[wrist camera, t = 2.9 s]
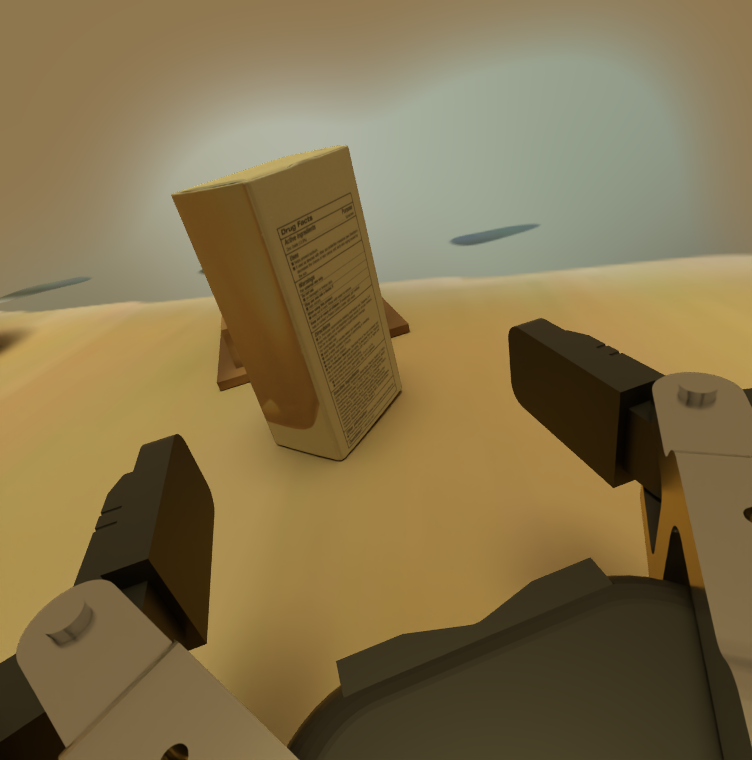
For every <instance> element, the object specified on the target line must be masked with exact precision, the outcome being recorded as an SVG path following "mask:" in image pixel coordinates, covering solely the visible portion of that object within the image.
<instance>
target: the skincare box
mask: <svg viewBox="0 0 752 760" xmlns="http://www.w3.org/2000/svg"><path fill="white" fill-rule="evenodd" d="M171 196H172V198H173V200H174V203H175V205H176V207H177V210H178V212H179V214H180V217H181V219H182V221H183V224H184V226H185V228H186V231H187V233H188V236H189V238H190V241H191V243H192V245H193V248H194V250H195V252H196V255H197V257H198V259H199V262H200V264H201V266H202V269H203V271H204V274H205V276H206V278H207V281H208V283H209V286H210V288H211V290H212V293H213V295H214V297H215V299H216V302H217V304H218V307H219V309H220V311H221V314H222V316H223V318H224V321H225V323H226V326H227V328H228V331H229V333H230V335H231V338H232V340H233V342H234V345H235V347H236V350H237V352H238V354H239V357H240V359H241V361H242V364H243V366H244V368H245V371H246V373H247V375H248V378H249V380H250V382H251V385H252V387H253V389H254V392H255V394H256V396H257V399H258V401H259V404H260V406H261V409H262V411H263V413H264V416H265V418H266V421H267V423H268V425H269V428H270V430H271V432H272V435H273V437H274V440H275V442H276V443H277V444H279V445H283V446H286V447H289V448H293V449H296V450H300V451H303V452H307V453H311V454H315V455H319V456H323V457H327V458H331V459H335V460H342V459H344V458H345V457H346V456H347V455H348V454H349V452H350V451H351V450H352V449H353V448H354V447H355V446H356V444H357V443H358V442H359V441H360V440H361V439H362V437H363V436H364V435H365V434H366V433H367V431H368V430H369V429H370V428H371V426H372V425H373V424H374V423H375V422H376V420H377V419H378V418H379V417H380V415H381V414H382V413H383V412H384V410H385V409H386V408H387V407H388V405H389V404H390V403H391V402H392V400H393V399H394V398H395V396H396V395H397V394H398V392H399V391H400V390H401V388H402V386H401V381H400V377H399V372H398V368H397V363H396V359H395V354H394V350H393V346H392V341H391V337H390V332H389V328H388V323H387V319H386V314H385V310H384V305H383V301H382V296H381V292H380V288H379V283H378V278H377V274H376V270H375V265H374V261H373V256H372V252H371V247H370V243H369V238H368V233H367V229H366V224H365V220H364V216H363V211H362V207H361V203H360V198H359V193H358V189H357V184H356V180H355V176H354V171H353V166H352V162H351V157H350V153H349V148H348V146H347V145H345V146H334V147H329V148H324V149H319V150H314V151H310V152H305V153H300V154H295V155H290V156H287V157H283V158H280V159H277V160H273V161H270V162H267V163H264V164H262V165H258V166H255V167H252V168H250V169H247V170H243V171H241V172H237V173H234V174H231V175H228V176H225V177H222V178H219V179H216V180H214V181H210V182H207V183H204V184H201V185H198V186H195V187H192V188H188V189H185V190H182V191H179V192H177V193H173V194H172V195H171Z"/></svg>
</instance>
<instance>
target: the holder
mask: <svg viewBox="0 0 752 760" xmlns="http://www.w3.org/2000/svg"><path fill="white" fill-rule="evenodd" d="M382 301H383V305H384V310H385V314H386V319H387V323H388V328H389V332H390V337H394V336H398V335H401V334H404V333H407V332H410V331H409V325H408V323H407V322H406V321H405V320H404V319H403V318H402V317H401V316H400V315H399V314H398V313H397V312H396V311H395V310H394V309H393V308H392V307H391V306H390V305H389V304H388V303H387V302H386V301H385V300H384V299H383V298H382ZM247 382H250V380H249V378H248V375H247V373H246V371H245V368H244V366H243V364H242V361H241V359H240V357H239V354H238V352H237V350H236V347H235V345H234V342H233V340H232V338H231V335H230V333H229V331H228V328H227V326H226V323H225V321H224V318H223V316H222V321H221V339H220V352H219V364H218V377H217V384H218V386H219V388H220V391H221V390H225V389H228V388H231V387H234V386H237V385H241V384H244V383H247Z"/></svg>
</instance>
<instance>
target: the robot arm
mask: <svg viewBox="0 0 752 760" xmlns="http://www.w3.org/2000/svg"><path fill="white" fill-rule="evenodd" d="M508 340H509V355H510V370H511V383H512V388H513V392H514V394H515V396H516V398H517V400H518V402H519V403H520V404H521V406H522V407H524V408H525V409H526V410H527V411H528V412H529V413H530V414H531V415H532V416H534V417H535V418H536V419H537V420H538V421H539V422H540V423H541V424H542V425H544V426H545V427H546V428H547V429H548V430H549V431H550V432H551V433H553V434H554V435H555V436H556V437H557V438H558V439H559V440H560V441H561V442H563V443H564V444H565V445H566V446H567V447H568V448H569V449H570V450H571V451H573V452H574V453H575V454H576V455H577V456H578V457H579V458H580V459H582V460H583V461H584V462H585V463H586V464H587V465H588V466H589V467H590V468H592V469H593V470H594V471H595V472H596V473H597V474H598V475H599V476H601V477H602V478H603V479H604V480H605V481H606V482H607V483H608V484H609V485H611V486H612V487H613V488H615V487H617V486H620V485H623V484H625V483H628V482H630V481H633V480H636V481H638V482H639V483H640V484H641V491H640V502H641V510H642V519H643V527H644V535H645V544H646V552H647V561H648V571H649V577H641V576H630V575H628V576H606V575H605V574H604V573H603V572H602V570H601V569H600V568H599V567H598V566H597V565H596V563H595V562H594V561H593V560H592V559H591V558H588V559H586V560H583V561H581V562H578V563H576V564H573V565H571V566H568V567H566V568H563V569H561V570H559V571H556V572H554V573H551V574H549V575H546V576H544V577H541V578H539V579H537V580H534V581H532V582H530V583H529V584H528V585H527V586H525V587H524V588H523V589H521V590H520V591H519V592H518V593H516V594H515V595H514V596H513V597H511V598H510V599H509V600H507V601H506V602H505V603H504V604H502V605H501V606H500V607H499V608H497V609H496V610H495V611H493V612H492V613H491V614H490V615H488V616H487V617H486V618H484V619H483V620H482V621H480V622H478V623H476V624H473V625H468V626H460V627H453V628H445V629H438V630H430V631H423V632H415V633H407V634H402V635H399V636H397V637H394V638H392V639H390V640H387V641H385V642H382V643H380V644H377V645H375V646H372V647H370V648H367V649H365V650H363V651H360V652H358V653H355V654H353V655H350V656H348V657H345V658H343V659H341V660H338V661H336V663H337V668H338V673H339V678H340V683H341V685H340V686H339V687H338V688H337V689H335V690H334V691H333V692H332V693H330V694H329V695H328V696H327V697H326V698H325V699H324V700H323V701H322V702H321V703H320V704H319V705H318V706H317V707H316V708H315V709H314V710H313V711H312V712H311V714H310V715H309V716H308V717H307V718H306V720H305V721H304V722H303V723H302V724H301V726H300V727H299V729H298V730H297V732H296V733H295V735H294V736H293V738H292V739H291V740H290V742H289V744H288V745H287V747H286V746H285V745H284V744H283V743H281V742H280V741H279V740H278V739H277V738H276V737H275V736H274V735H273V734H272V733H271V732H270V731H269V730H268V729H267V728H266V727H265V726H264V725H263V724H262V723H261V722H260V721H259V720H258V719H257V718H256V717H255V716H254V715H253V714H252V713H251V712H250V711H249V710H248V709H247V708H246V707H245V706H244V705H243V704H242V703H241V702H240V701H239V700H238V699H237V698H236V697H235V696H233V695H232V694H231V693H230V692H229V691H228V690H227V689H226V688H225V687H224V686H223V685H222V684H221V683H220V682H219V681H218V680H217V679H216V678H215V677H214V676H213V675H212V674H211V673H210V672H209V671H208V670H207V669H206V668H205V667H204V666H203V665H202V664H201V663H200V662H199V661H198V660H197V659H196V658H195V657H194V656H193V655H192V654H191V653H190V652H189V650H192V649H194V648H197V647H200V646H202V645H205V644H207V630H208V613H209V596H210V579H211V562H212V545H213V528H214V503H213V498H212V495H211V491H210V489H209V486H208V484H207V482H206V480H205V479H204V477H203V475H202V473H201V471H200V469H199V467H198V465H197V463H196V461H195V459H194V458H193V456H192V454H191V452H190V450H189V448H188V446H187V444H186V442H185V441H184V439H183V438H182V437H181V436H180V435H179V434H175V435H172V436H169V437H166V438H163V439H160V440H157V441H154V442H151V443H147V444H144V445H142V447H141V449H140V452H139V455H138V458H137V461H136V464H135V467H134V470H133V472H131V473H127V474H124V475H123V476H122V477H121V479H120V480H119V481H118V482H117V483H116V485H115V486H114V487H113V488H112V489H111V491H110V492H109V493H108V495H107V497H106V500H105V503H104V505H103V508H102V511H101V515H102V516H100V517H99V519H98V522H97V524H96V527H95V530H96V532H94V533H93V535H92V538H91V540H90V543H89V546H88V548H87V551H86V554H85V556H84V559H83V562H82V565H81V567H80V570H79V573H78V575H77V578H76V581H75V583H74V586H73V587H72V588H70V589H68V590H67V591H65V592H64V593H62V594H60V595H59V596H58V597H56V598H55V599H53V600H52V601H51V602H50V603H49V604H47V605H46V606H45V607H44V608H43V609H42V610H41V611H40V612H39V613H38V614H37V615H36V616H35V617H34V619H33V620H32V621H31V622H30V624H29V625H28V626H27V628H26V629H25V631H24V633H23V634H22V636H21V638H20V641H19V643H18V646H17V651H16V654H15V655H13V656H11V657H10V658H8V659H7V660H5V661H3V662H2V663H0V760H752V388H750V389H741V388H740V387H739V386H738V385H736V384H735V383H733V382H731V381H729V380H727V379H725V378H722V377H719V376H715V375H711V374H706V373H696V372H682V373H675V374H670V375H667V376H665V375H663V374H661V373H659V372H657V371H656V370H654V369H652V368H650V367H648V366H646V365H644V364H642V363H640V362H638V361H637V360H635V359H633V358H631V357H629V356H627V355H625V354H623V353H621V354H620V353H619V351H618V350H616V349H614V348H612V347H610V346H605V344H604V343H602V342H600V341H599V340H597V339H595V338H593V337H591V336H589V335H585V334H581V333H576V332H572V331H568V330H566V331H565V330H563V329H561V328H560V327H558V326H556V325H554V324H552V323H551V322H549V321H547V320H545V319H542V318H540V319H536V320H533V321H530V322H527V323H524V324H521V325H518V326H514V327H512V328H511V329H510V331H509V336H508Z"/></svg>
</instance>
